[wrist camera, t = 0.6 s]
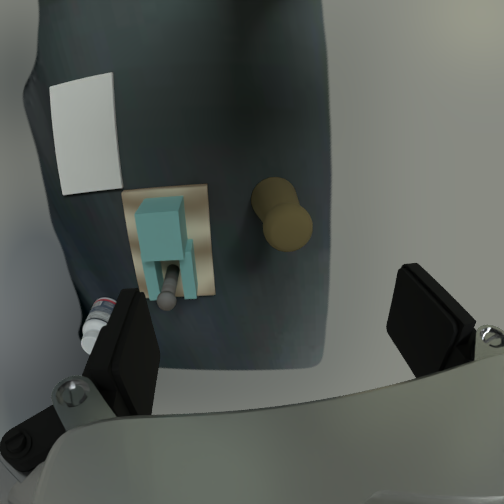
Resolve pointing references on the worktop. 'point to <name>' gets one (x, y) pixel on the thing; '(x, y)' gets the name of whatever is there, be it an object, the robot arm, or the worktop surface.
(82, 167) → the mat
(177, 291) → the stand
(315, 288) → the worktop surface
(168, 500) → the robot arm
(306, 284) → the worktop surface
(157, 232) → the link
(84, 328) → the pill bottle
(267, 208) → the cork
